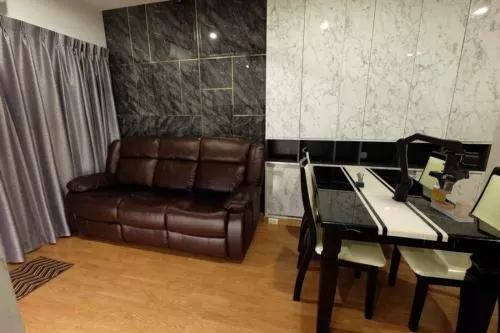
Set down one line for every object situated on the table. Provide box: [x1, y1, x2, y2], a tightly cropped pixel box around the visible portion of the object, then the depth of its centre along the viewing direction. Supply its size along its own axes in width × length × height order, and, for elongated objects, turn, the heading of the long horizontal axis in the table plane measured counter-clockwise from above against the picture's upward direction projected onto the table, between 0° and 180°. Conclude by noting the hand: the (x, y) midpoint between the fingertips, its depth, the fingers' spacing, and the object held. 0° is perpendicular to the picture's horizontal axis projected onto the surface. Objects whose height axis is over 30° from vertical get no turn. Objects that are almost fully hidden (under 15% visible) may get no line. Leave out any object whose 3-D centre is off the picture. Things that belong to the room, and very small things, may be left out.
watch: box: [354, 171, 365, 189], centre depth 174 cm, size 6×8×11 cm
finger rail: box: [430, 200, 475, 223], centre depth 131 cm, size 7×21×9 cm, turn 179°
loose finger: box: [438, 179, 454, 195], centre depth 135 cm, size 4×5×7 cm
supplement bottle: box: [430, 180, 448, 202], centre depth 149 cm, size 7×7×13 cm
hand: (445, 189), depth 136 cm, fingers closed on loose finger, 4 cm apart
